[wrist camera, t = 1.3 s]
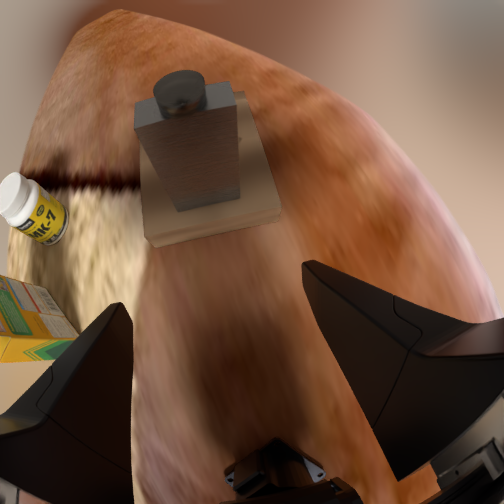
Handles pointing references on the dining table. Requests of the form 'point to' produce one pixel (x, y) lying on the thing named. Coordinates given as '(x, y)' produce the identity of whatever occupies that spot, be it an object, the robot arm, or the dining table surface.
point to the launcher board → (221, 214)
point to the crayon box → (31, 323)
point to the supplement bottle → (32, 209)
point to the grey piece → (191, 139)
